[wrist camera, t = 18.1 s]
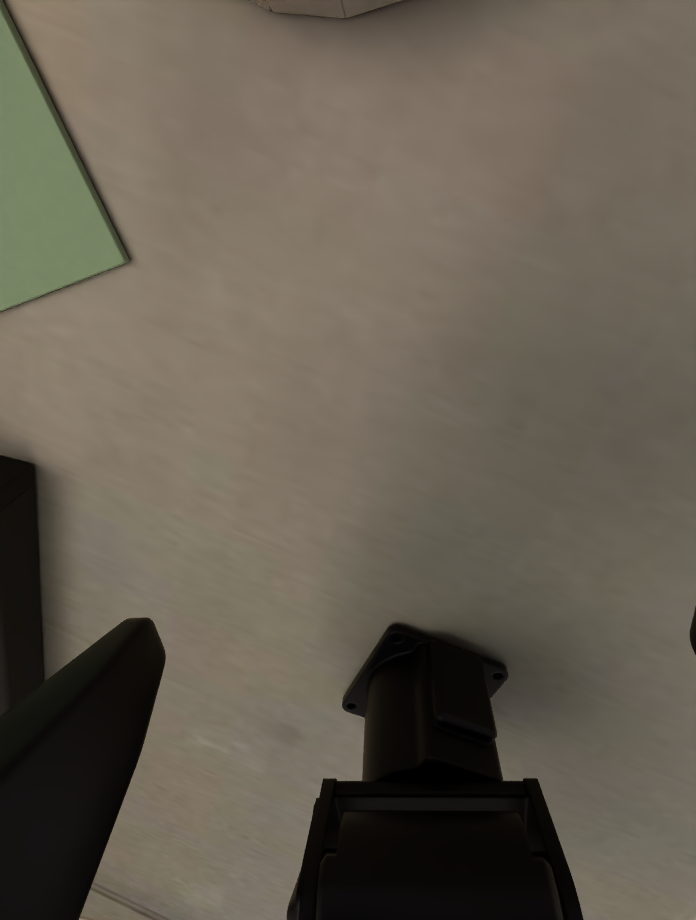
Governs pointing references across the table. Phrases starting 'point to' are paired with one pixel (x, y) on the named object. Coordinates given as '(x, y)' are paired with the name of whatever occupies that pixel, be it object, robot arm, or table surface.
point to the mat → (43, 189)
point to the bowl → (324, 6)
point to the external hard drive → (18, 585)
